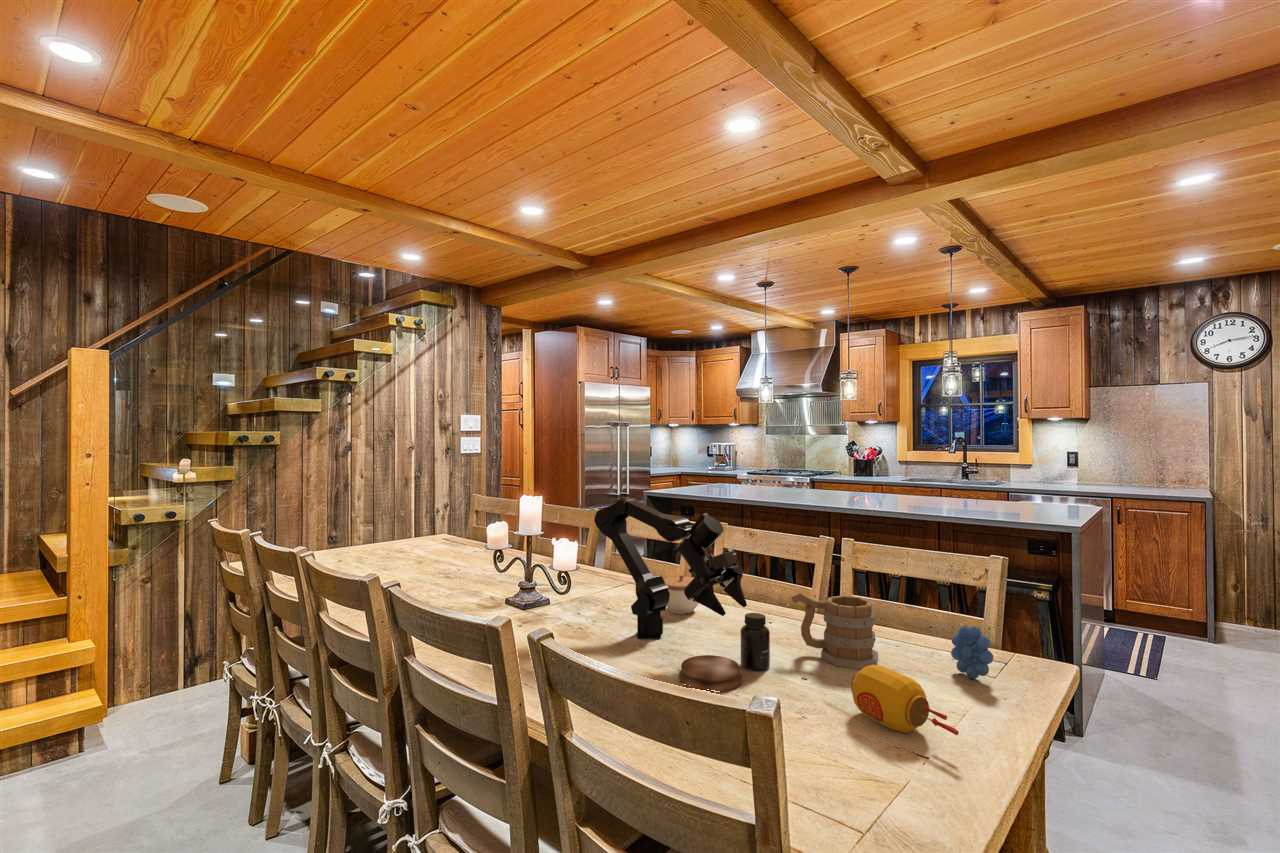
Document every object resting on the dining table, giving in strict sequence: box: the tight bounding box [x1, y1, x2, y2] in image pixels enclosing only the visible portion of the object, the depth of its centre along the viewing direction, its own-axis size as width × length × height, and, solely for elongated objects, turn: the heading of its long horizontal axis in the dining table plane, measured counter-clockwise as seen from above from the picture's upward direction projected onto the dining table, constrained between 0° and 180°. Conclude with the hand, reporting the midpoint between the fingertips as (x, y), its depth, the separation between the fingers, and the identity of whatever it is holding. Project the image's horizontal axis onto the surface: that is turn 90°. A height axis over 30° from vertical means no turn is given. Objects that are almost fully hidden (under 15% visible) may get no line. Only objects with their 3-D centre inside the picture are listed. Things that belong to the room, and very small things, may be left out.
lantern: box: [829, 664, 960, 736], centre depth 116 cm, size 10×10×30 cm
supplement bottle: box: [740, 612, 771, 672], centre depth 144 cm, size 7×7×12 cm
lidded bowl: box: [663, 574, 700, 615], centre depth 189 cm, size 13×13×11 cm
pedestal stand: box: [678, 654, 743, 694], centre depth 137 cm, size 14×14×3 cm
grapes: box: [950, 625, 994, 680], centre depth 136 cm, size 12×7×12 cm, turn 13°
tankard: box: [791, 592, 879, 670], centre depth 150 cm, size 20×13×15 cm, turn 65°
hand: (735, 610), depth 148 cm, fingers open, 9 cm apart
